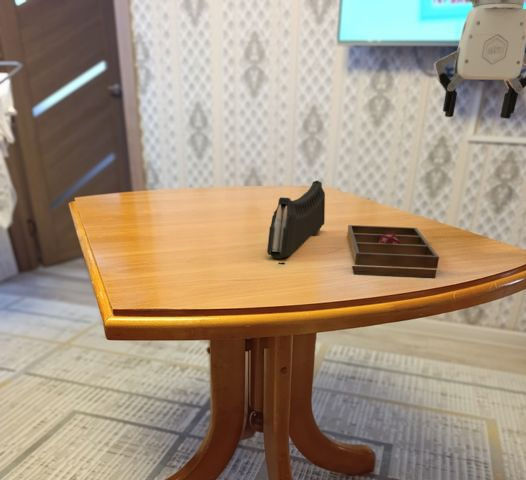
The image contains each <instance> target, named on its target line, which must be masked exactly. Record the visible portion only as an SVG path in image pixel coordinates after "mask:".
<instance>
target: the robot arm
mask: <svg viewBox="0 0 526 480" xmlns="http://www.w3.org/2000/svg"><path fill="white" fill-rule="evenodd" d="M465 2H470V3H471V4H472V6H471V7H472V9H470V10H468V13H467V15H466V18H465V21H464V24H463V28H462V30H461V34H460V39H459V42H458V46H457V49H456V50H455V51H453V52H452V53H450V54H447V55H446V56H444V57H442V58H440V59H438V60H436V61H434V63H433V67H434V71H435V74H436V76H437V81H438V82H439V83H440V85H441V86H442V88H443V89H444V91H445V96H444V101H443V108H442V111H443V113H444V117H446V118H452V117H454V115H455V107H456V103H457V97H458V92H457V91H456V89H457V87H458V86H459V85H460V84H461V83H462V82H463V81H464V80H470V81H471V80H472V81H473V80H476V81H478V80H479V81H503V83H504V84H505V86H506V88H507V89H508V90H507V92H505V94H504V96H503V101H502V107H501V112H500V115H499V117H500V118H501V119H511V117H512V114H514V112H515V109H516V106H517V105H516V104H517V100H518V96H519V93H521V92H522V90H523V89H524V88H525V87H526V73H525V74H524V75H523V76H522V77H520V78H518V77H519V76H520V75H521V72H522V68H523V66H525V67H526V52H525V51H526V8H524V5H525V0H465ZM453 62H454V66H453V76H452V77H451V78H450V77H449V76H448V74H447V73H446V70H445V69H446V66H447V65H449V64H451V63H453Z"/></svg>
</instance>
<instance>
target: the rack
mask: <svg viewBox="0 0 526 480" xmlns="http://www.w3.org/2000/svg"><path fill="white" fill-rule="evenodd" d="M390 233H394V234H395V235H396V236H397V238H398V239H399V241H400V242H401V244H387V243H378V242H379V239H380V237H381V235H385V234H390ZM346 238H347V239H348V243H349V248H350V251H351V256H352V259H353V263H354V265H351V268H352V272H353V275H355V276H356V275H357V276H374V277H375V276H378V277H398V278H419V279H421V278H422V279H436V276H437V272H438V265H439V260H440V256H439V254H437V252H436V251H435V250H434V249H433V247H432V246H431V245H430V243H429V242H428V240H427V239H426V238H425V237H424V235H423V234H422V232H421V231H420V230H419V229H418V227H412V226H411V227H409V226H384V225H380V226H378V225H361V224H360V225H359V224H358V225H357V224H348V225H347V234H346Z"/></svg>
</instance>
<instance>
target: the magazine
mask: <svg viewBox="0 0 526 480" xmlns="http://www.w3.org/2000/svg"><path fill="white" fill-rule="evenodd" d="M277 203H278V204H277V206H276V209H275V211H274V212H273V215H272V217H271V223H270V226H269V231H268V240H267V250H266V253H267V255H268V256H271V257H272V258H273V259H276V260H277V259H278V260H282V259H285V258H290V257H291V256H293V255H294V254H295V252H296V251H298V249H300V248H301V247H302V245H304V244H305V242H306V241H308V240H309V239H310V238H311V237H316V236H317V235H318V233H319V232H320V230H321V228H322V227H323V226H324V225H325V221H326V220H325V217H326V216H325V215H326V214H325V212H326V211H325V209H326V194H325V191H324V189H323V183H322V182H321V181H320V180H314V181H312V183H311V185H310V188H309V189H308V190H307V191H306V192H304V194H303V195H302V196H300V197H299V198H297V199H294V200H292V199H291V198H290V197H283V196H282V197H279V198H278V202H277ZM278 265H284V266H285V265H286V263H285V262H278Z"/></svg>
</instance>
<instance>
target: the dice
mask: <svg viewBox="0 0 526 480" xmlns="http://www.w3.org/2000/svg"><path fill="white" fill-rule="evenodd" d="M378 243H387V244H401V242H400V241H399V239H398V238H397V236H396V235H395V234H394V233H390V234H385V235H381V237H380V239H379V242H378Z"/></svg>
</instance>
